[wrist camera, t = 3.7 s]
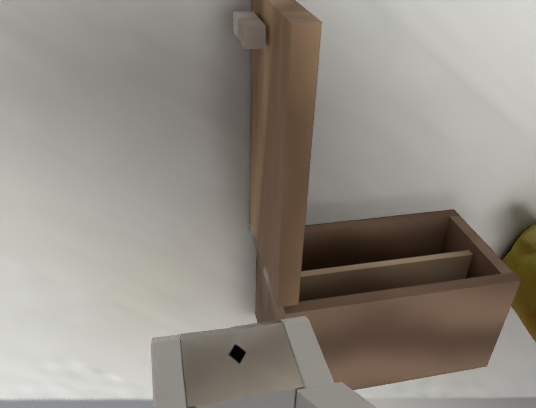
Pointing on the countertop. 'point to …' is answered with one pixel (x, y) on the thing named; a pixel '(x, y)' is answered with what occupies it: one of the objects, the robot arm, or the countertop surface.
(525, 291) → the mug
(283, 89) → the door
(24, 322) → the countertop surface
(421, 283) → the cabinet
